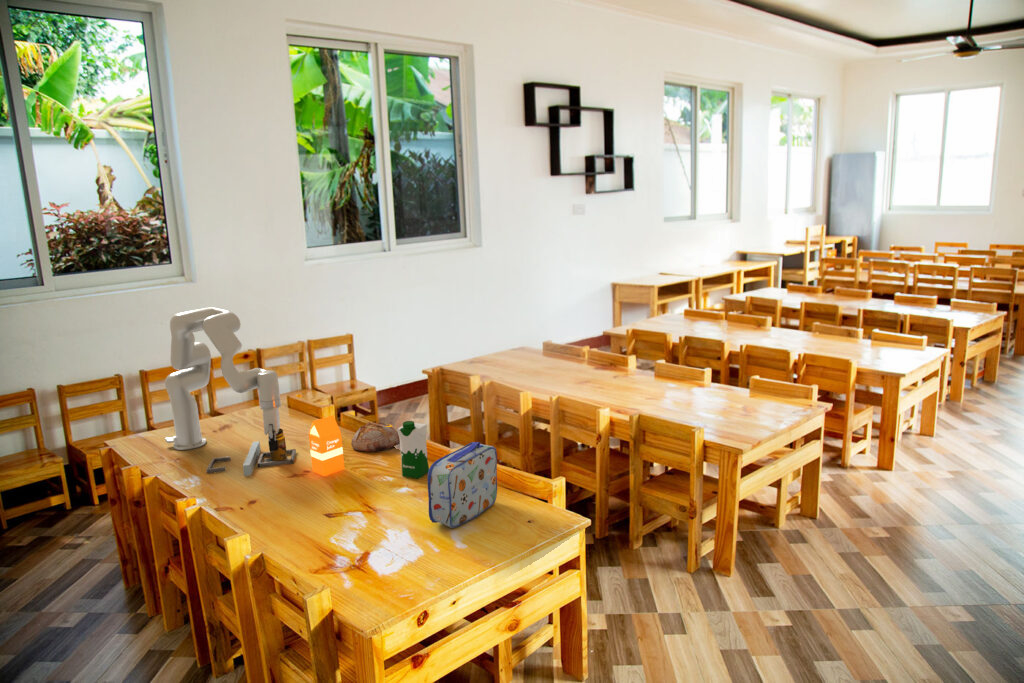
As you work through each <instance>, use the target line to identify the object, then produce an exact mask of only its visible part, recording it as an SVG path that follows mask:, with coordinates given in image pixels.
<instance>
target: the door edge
mask: <svg viewBox="0 0 1024 683" xmlns="http://www.w3.org/2000/svg"><path fill="white" fill-rule="evenodd" d="M261 450H262V449H261V443H260V441H259V440H258V441H252V443H251V446H250V448H249V451H248V453H247V456H246V458H245V460H244V462H243V465H242V469H243V470H242V471H243V476H244V477H247V476H252V474H253V472H254V469H255V466H256V465H257V462H258V460H259V457H260V454H261Z"/></svg>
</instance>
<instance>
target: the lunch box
mask: <svg viewBox="0 0 1024 683" xmlns="http://www.w3.org/2000/svg"><path fill="white" fill-rule="evenodd" d="M497 466H498V454H497V449H496V448H495V446H493V445H487V444H483V443H481V442H480V441H476V442H475V441H473V442H470V443H467V444H466V445H464V446H463V447H461V448H459V449H457V450H455V451H451V452H450V453H448V454H446V455H444V456H442V457H440V458H439V459H437V460H435V461H434V462H433V463H432V464H431V466H429V471H428V473H427V494H428V495H427V496H428V498H427V499H428V517H429V520H430V521H431V522H432V523H433V524H437V523H439V524H440V525H441V524H442V525H444V526H446V527H448V528H451V529H455V528H457V527H459V526H461V525H463V524H465V523H467V522H468V521H470V520H472V519H474V518H477V517H479V516H480V515H481V514H482V513H483V512H485V511H486V510H488V509H489V508H491V507H492V506H493V505H494V504H495V502H496V499H497V494H498V475H497V474H498V472H497V469H498V467H497Z"/></svg>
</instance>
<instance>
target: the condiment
mask: <svg viewBox="0 0 1024 683" xmlns="http://www.w3.org/2000/svg"><path fill="white" fill-rule="evenodd" d="M276 440H277V441H278V450H275V451H270V450H269V452H270V456H269V457H268V458H267V457H266V458H263V462H271V461H279V460H288V459H290V458H289V457H288V454H287V451H286V450H287V445H286V436H285V435H284V430H283V429H282V428H280V429H279V432H278V433H277V434H276Z"/></svg>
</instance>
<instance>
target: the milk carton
mask: <svg viewBox="0 0 1024 683" xmlns="http://www.w3.org/2000/svg"><path fill="white" fill-rule="evenodd" d="M427 426H428V424H427V423H420V422H418V423H417V422H415V421H413V420H408V421H407V420H406V421H403V422H402V425H401V426H399V427H398V428H397V430H396V431H397V432H398V434H399V438H400V444H399V447H400V458H401V459H400V460H401V476H403V478H404V477H405V478H409V477H411V478H410V479H415V478H417V479H416V480H419V478H420V479H421V478H423V476H426V475H428V471H429V468H430V466H429V460H428V451H427V450H428V448H427Z"/></svg>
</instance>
